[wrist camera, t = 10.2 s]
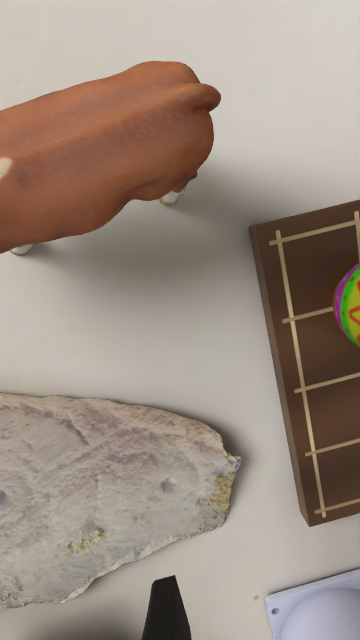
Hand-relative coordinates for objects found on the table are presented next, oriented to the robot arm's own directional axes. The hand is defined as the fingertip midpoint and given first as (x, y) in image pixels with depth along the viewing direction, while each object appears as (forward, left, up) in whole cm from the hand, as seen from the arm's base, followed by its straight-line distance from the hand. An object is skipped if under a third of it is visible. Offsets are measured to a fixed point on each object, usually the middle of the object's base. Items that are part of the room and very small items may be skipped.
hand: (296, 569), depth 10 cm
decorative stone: (-1, +10, -10) cm, 14 cm away
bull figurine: (+13, +5, -10) cm, 17 cm away
